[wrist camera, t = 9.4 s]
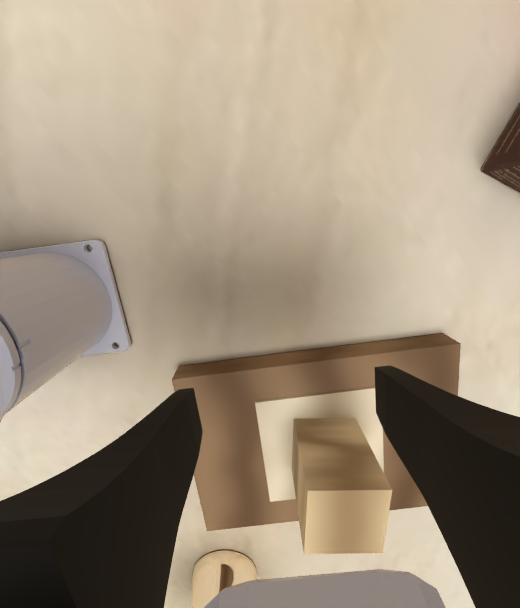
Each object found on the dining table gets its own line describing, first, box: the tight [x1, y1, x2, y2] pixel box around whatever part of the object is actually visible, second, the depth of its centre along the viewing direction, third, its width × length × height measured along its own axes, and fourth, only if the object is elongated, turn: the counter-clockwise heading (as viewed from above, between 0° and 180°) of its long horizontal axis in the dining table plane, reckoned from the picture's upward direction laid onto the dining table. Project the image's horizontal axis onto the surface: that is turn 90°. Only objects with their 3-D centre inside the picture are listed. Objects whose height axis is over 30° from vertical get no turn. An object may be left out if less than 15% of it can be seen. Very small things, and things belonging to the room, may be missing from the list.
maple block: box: [292, 418, 392, 554], centre depth 19 cm, size 4×4×6 cm
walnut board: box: [172, 333, 460, 531], centre depth 23 cm, size 20×14×2 cm
